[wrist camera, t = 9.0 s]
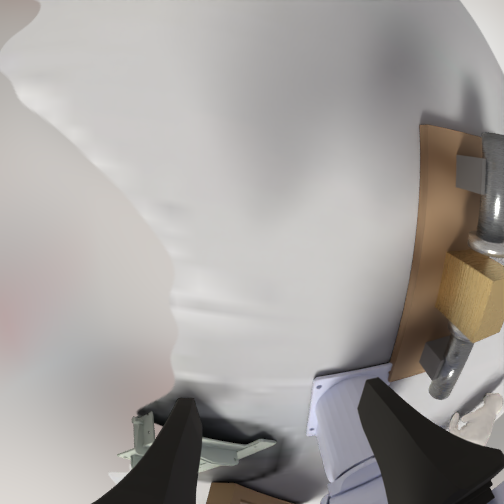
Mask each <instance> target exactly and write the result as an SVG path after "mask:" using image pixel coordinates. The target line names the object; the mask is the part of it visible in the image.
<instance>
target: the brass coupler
mask: <svg viewBox="0 0 504 504" xmlns="http://www.w3.org/2000/svg"><path fill="white" fill-rule="evenodd" d="M435 307H436V308H437V309H438V310H439V311H440V312H441V313H442V314H443V315H444V316H445V317H446V318H447V319H448V320H450V321H451V322H452V323H453V324H454V325H455V326H456V327H457V328H458V329H459V330H460V331H461V332H462V333H463V334H464V335H465V336H466V337H467V338H468V339H469V340H470V341H471V342H472V343H475V342H477V341H480V340H482V339H484V338H487V337H489V336H491V335H494V334H496V333H498V332H500V329H501V327H502V324H503V322H504V266H503V265H501V264H500V263H498V262H496V261H495V260H493V259H491V258H489V257H488V256H486V255H483V254H481V253H478V252H476V251H474V250H472V249H470V250H460V251H451V252H446V258H445V263H444V268H443V273H442V278H441V283H440V287H439V292H438V296H437V300H436V304H435Z"/></svg>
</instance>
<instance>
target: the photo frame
mask: <svg viewBox="0 0 504 504" xmlns="http://www.w3.org/2000/svg"><path fill="white" fill-rule="evenodd" d="M206 504H293V503H290V502H286V501H283V500H280V499H277V498H274V497H271V496H268V495H265V494H262V493H259V492H256V491H254V490H251V489H248V488H246V487H243V486H241V485H238V484H236V483H213V482H212V483H211V487H210V491H209V494H208V498H207V502H206Z"/></svg>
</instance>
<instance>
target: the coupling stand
mask: <svg viewBox="0 0 504 504" xmlns="http://www.w3.org/2000/svg"><path fill="white" fill-rule="evenodd" d="M470 249H472V250H474V251H476V252H478V253H481V254H483V255H486V256H488V257H489V256H490V257H496V258H504V135H500V134H495V133H482V138H481V137H478V136H474V135H471V134H467V133H463V132H459V131H455V130H451V129H446V128H442V127H437V126H432V125H420V192H419V208H418V220H417V230H416V239H415V247H414V254H413V261H412V268H411V274H410V279H409V285H408V290H407V295H406V300H405V305H404V309H403V314H402V318H401V322H400V326H399V330H398V334H397V338H396V342H395V345H394V349H393V352H392V356H391V359H390V362H389V363H392V368H391V371H389V372H388V373H389V377H388V381H389V382H393V381H396V380H400V379H403V378H407V377H410V376H413V375H417V374H420V373H423V372H426V373H427V374H428V375H429V377H430V378H431V380H432V382H431V384H430V387H429V393H430V395H431V396H432V397H434V398H435V399H439V400H443V399H446V398H447V397H448V396H449V395H450V393H451V391H452V389H453V387H454V385H455V384H456V382H457V380H458V378H459V376H460V374H461V372H462V369H463V367H464V365H465V363H466V361H467V359H468V356H469V354H470V352H471V349H472V347H473V345H474V343H472V342H471V341H470V340H469V339H468V338H467V337H466V336H465V335H464V334H463V333H462V332H461V331H460V330H459V329H458V328H457V327H456V326H455V325H454V324H453V323H452V322H451V321H450V320H448V319H447V318H446V317H445V316H444V315H443V314H442V313H441V312H440V311H439V310H438V309H437V308H436V307H435V304H436V300H437V296H438V292H439V287H440V283H441V278H442V273H443V268H444V263H445V258H446V252H451V251H460V250H470Z"/></svg>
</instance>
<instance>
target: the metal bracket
mask: <svg viewBox="0 0 504 504" xmlns="http://www.w3.org/2000/svg"><path fill="white" fill-rule="evenodd" d="M132 423H134V448H133V449H131V450H128V451H125V452H123V453H120V454H118V455H117V456H118V457H121V458H125V459H130V460H131V467H132V469H133V468H134V467H135V465H136V464H137V463H138V462H139V461H140V459H141V458H142V457H143V456H144V454H145V453H146V452H147V450H148V449H149V447H150V446H151V445H152V443H153V442H154V440H155V430H154V416H153V412H150V413H149V415H147V414H146V415H144V416H142V417H139V416H136V417H133V418H132ZM149 432H150V433H149ZM274 444H276V441H274V440H267V439H258V440H256V441H254V442H251V443H249V444H246V445H243V444H237V443H231V442H225V441H219V440H214V439H209V438H205V437H202V450H201V457H200V465H199V472H202V471H206V470H209V469H212V468H215V467H218V466H221V465H225V466H234V465H237V464H238V463H239V460H238V459H241V458H243V457H246V456H248V455H251V454H253V453H256V452H258V451H261V450H263V449H265V448H268V447H270V446H272V445H274ZM199 472H198V473H199Z"/></svg>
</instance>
